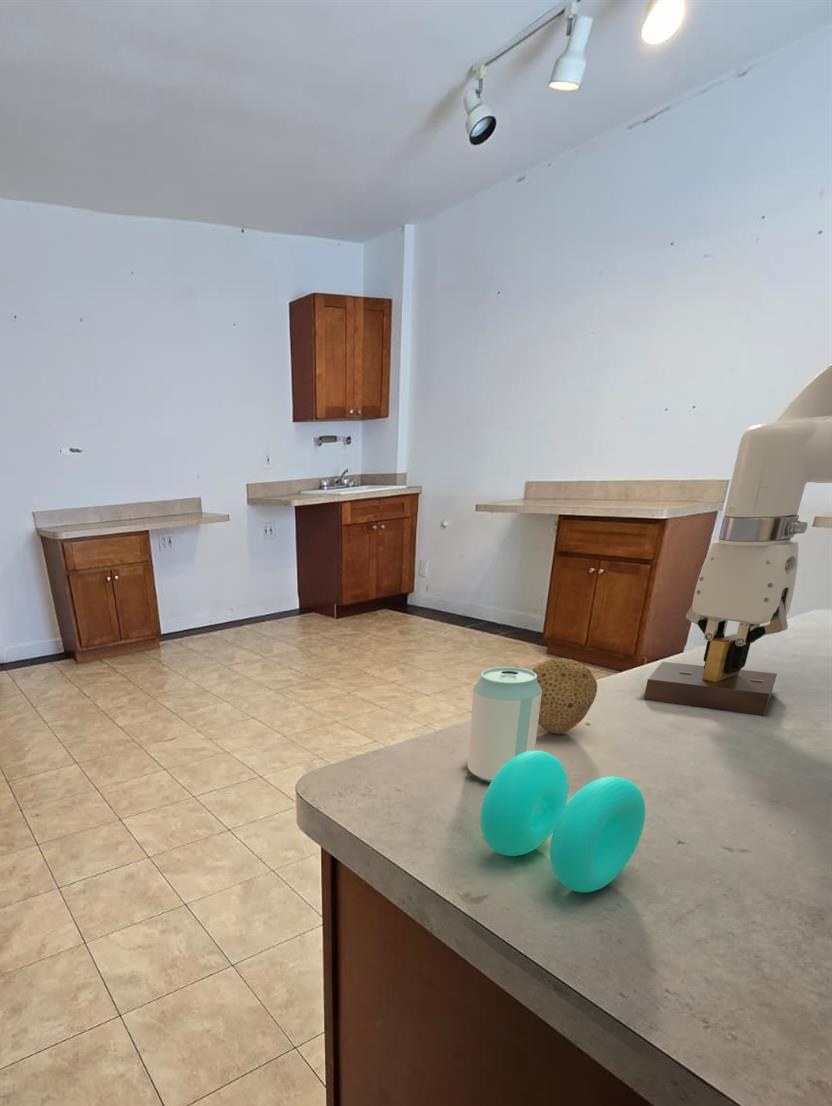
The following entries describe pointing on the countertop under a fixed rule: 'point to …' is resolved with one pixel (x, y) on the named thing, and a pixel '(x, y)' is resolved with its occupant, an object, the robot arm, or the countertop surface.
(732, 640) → the thumbturn
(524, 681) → the can
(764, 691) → the plate
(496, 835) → the donuts
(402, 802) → the countertop surface
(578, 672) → the natural sponge
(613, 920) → the countertop surface
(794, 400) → the robot arm
